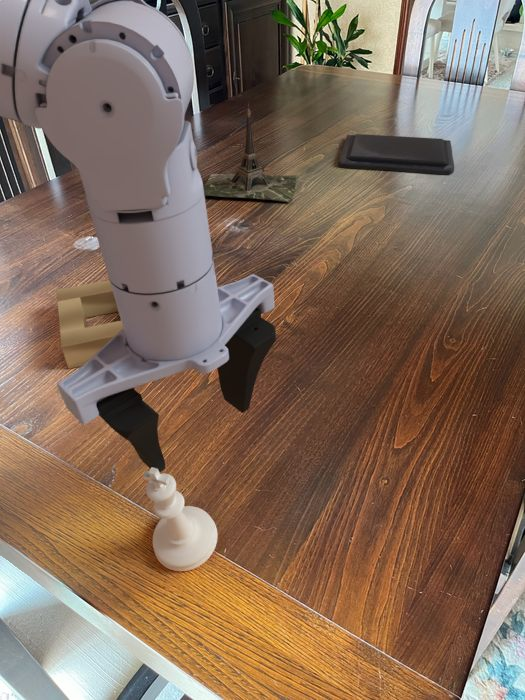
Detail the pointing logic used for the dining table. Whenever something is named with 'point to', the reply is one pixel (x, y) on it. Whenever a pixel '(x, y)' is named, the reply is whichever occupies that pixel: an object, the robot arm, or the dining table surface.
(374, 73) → the dining table surface
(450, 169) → the black flat block
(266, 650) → the dining table surface
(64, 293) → the socket
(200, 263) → the robot arm
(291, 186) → the eiffel tower figurine
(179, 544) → the chess piece
